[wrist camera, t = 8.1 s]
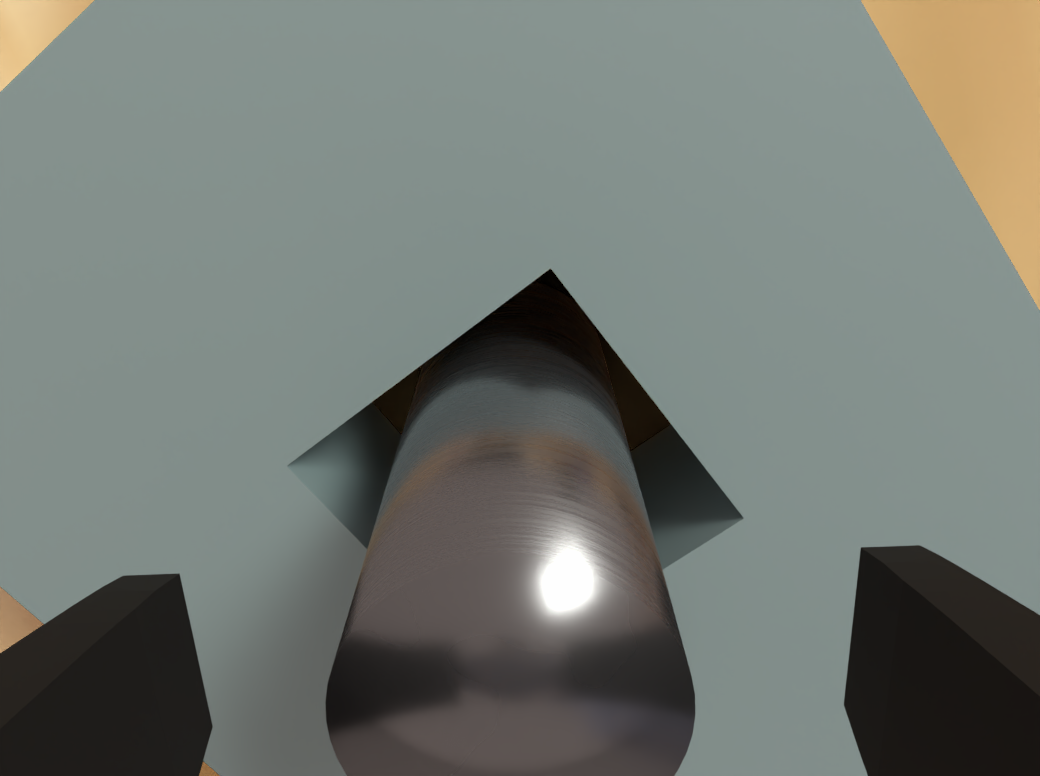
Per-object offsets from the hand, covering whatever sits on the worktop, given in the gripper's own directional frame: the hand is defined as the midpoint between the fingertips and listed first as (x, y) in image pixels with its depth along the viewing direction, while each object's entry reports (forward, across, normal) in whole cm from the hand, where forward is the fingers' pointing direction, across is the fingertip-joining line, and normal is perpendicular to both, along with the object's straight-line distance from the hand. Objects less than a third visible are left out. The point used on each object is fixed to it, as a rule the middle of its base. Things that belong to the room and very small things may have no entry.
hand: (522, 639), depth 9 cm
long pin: (+7, 0, 0) cm, 7 cm away
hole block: (+7, 0, 0) cm, 7 cm away
